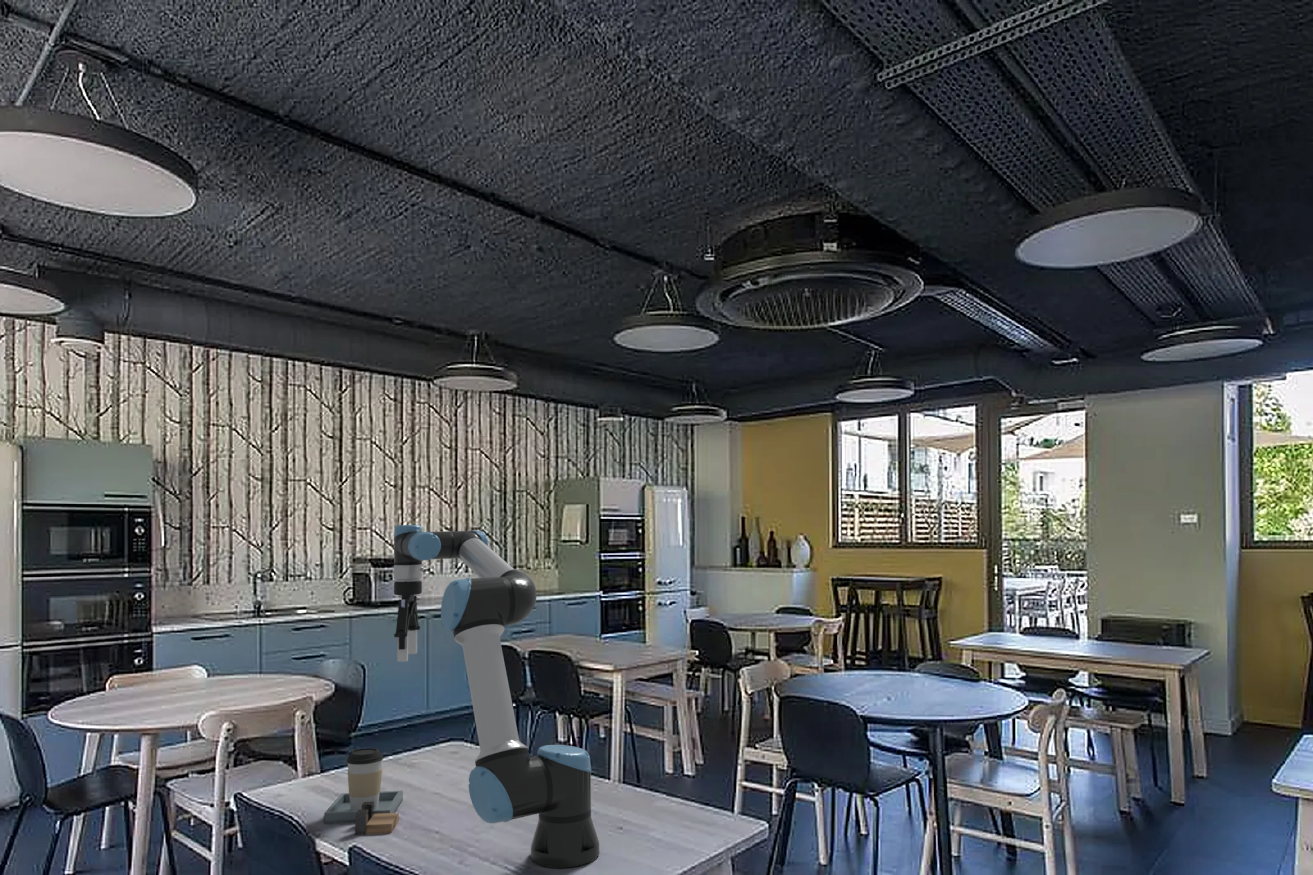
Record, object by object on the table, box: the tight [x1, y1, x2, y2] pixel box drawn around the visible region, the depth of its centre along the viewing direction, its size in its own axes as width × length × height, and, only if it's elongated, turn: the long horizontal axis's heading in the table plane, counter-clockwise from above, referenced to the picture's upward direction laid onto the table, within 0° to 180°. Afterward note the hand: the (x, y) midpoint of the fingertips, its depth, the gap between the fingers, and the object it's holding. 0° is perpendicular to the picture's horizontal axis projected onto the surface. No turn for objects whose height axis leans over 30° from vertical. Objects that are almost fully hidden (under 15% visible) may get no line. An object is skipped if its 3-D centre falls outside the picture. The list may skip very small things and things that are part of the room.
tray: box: [323, 790, 404, 825], centre depth 227 cm, size 16×16×2 cm
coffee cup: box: [346, 747, 384, 811], centre depth 227 cm, size 9×9×15 cm
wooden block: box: [365, 812, 400, 835], centre depth 215 cm, size 8×6×2 cm
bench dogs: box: [354, 802, 374, 836], centre depth 214 cm, size 8×2×5 cm, turn 5°
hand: (407, 657), depth 244 cm, fingers open, 13 cm apart
